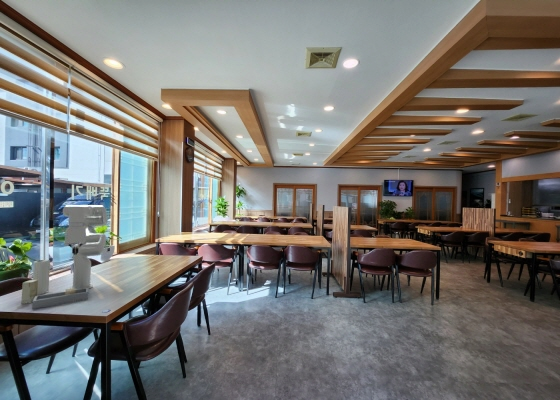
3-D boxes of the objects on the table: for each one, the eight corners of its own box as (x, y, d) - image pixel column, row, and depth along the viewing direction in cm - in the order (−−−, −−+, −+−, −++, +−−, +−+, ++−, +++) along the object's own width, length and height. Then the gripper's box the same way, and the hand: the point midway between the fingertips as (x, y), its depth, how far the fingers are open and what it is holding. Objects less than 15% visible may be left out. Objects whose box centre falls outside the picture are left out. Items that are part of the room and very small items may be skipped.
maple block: (65, 295, 147) (65, 289, 147) (75, 294, 149) (75, 287, 150) (64, 298, 143) (65, 291, 143) (74, 296, 146) (75, 289, 146)
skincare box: (30, 303, 141) (31, 282, 141) (20, 304, 140) (21, 282, 140) (37, 299, 147) (38, 279, 147) (28, 300, 146) (29, 279, 146)
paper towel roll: (30, 296, 152) (32, 262, 153) (33, 293, 157) (35, 260, 158) (46, 294, 156) (47, 260, 157) (48, 291, 161) (50, 259, 162)
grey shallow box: (35, 303, 141) (35, 295, 141) (87, 294, 156) (87, 287, 156) (32, 309, 133) (32, 301, 133) (87, 299, 148) (88, 291, 148)
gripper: (91, 224, 159) (90, 252, 159) (60, 225, 150) (59, 254, 149) (91, 225, 153) (90, 254, 153) (60, 225, 144) (58, 256, 143)
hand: (75, 254), depth 151 cm, fingers closed
